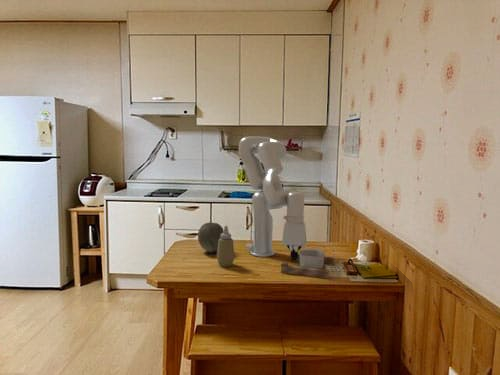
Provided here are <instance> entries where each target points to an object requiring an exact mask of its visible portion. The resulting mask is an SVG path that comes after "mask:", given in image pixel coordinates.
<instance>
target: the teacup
mask: <svg viewBox="0 0 500 375" xmlns="http://www.w3.org/2000/svg"><path fill="white" fill-rule="evenodd" d="M298 254H299V259H300V261H299V267H307V268H315V269H323V266H324V265H325V264H324V257H325V252H324V251H323V250H320V249H313V248H311V247H310V248H307V249H303V250H299V251H298Z"/></svg>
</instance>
